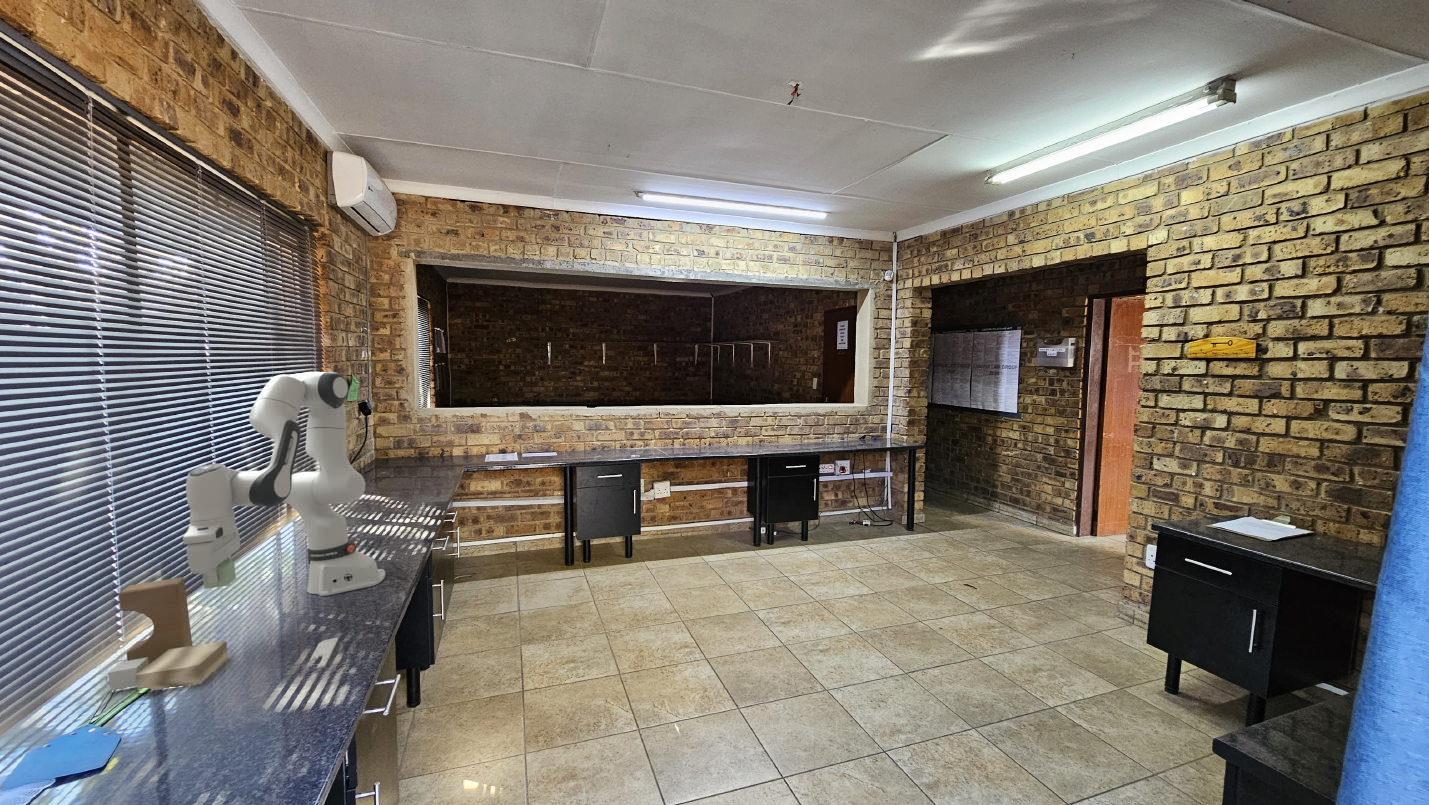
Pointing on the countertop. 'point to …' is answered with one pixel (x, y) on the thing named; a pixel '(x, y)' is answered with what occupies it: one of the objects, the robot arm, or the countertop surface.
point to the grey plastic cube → (126, 673)
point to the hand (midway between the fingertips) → (219, 577)
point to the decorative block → (159, 616)
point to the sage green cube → (222, 575)
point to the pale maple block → (182, 666)
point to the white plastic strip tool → (324, 651)
